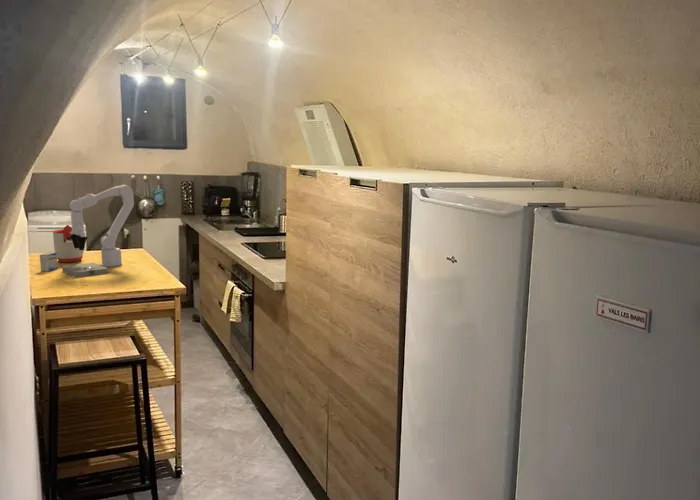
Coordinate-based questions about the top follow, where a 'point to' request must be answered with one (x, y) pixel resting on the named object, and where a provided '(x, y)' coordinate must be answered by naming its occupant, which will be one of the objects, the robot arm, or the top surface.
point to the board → (84, 269)
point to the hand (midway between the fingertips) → (79, 249)
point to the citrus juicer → (66, 246)
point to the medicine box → (48, 261)
